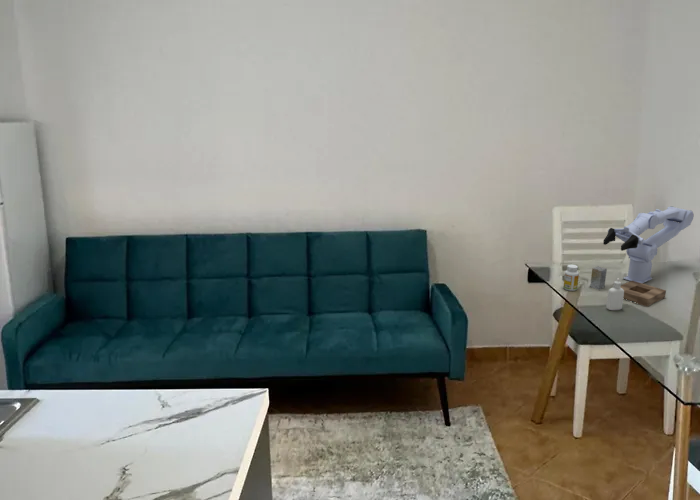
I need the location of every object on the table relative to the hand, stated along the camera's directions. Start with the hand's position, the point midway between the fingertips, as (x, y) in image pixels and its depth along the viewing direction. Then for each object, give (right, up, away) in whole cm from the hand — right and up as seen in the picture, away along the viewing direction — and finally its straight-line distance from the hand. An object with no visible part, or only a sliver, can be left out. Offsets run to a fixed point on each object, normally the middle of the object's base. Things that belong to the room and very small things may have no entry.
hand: (612, 245), depth 253 cm
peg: (-2, -17, +10) cm, 20 cm away
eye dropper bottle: (-4, -24, -11) cm, 27 cm away
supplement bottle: (-14, -18, +8) cm, 24 cm away
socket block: (+10, -20, 0) cm, 23 cm away
